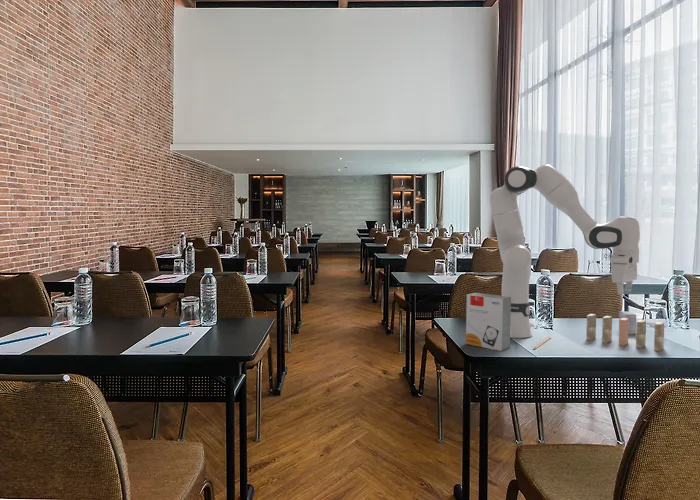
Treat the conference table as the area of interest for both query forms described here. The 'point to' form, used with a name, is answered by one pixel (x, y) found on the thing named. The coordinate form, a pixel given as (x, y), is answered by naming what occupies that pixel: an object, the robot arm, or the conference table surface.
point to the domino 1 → (591, 327)
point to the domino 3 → (623, 331)
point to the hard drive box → (488, 321)
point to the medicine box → (631, 320)
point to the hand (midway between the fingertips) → (624, 292)
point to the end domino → (659, 336)
